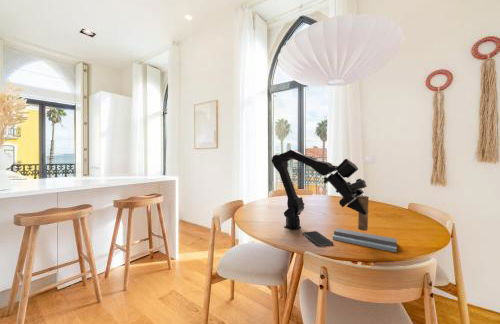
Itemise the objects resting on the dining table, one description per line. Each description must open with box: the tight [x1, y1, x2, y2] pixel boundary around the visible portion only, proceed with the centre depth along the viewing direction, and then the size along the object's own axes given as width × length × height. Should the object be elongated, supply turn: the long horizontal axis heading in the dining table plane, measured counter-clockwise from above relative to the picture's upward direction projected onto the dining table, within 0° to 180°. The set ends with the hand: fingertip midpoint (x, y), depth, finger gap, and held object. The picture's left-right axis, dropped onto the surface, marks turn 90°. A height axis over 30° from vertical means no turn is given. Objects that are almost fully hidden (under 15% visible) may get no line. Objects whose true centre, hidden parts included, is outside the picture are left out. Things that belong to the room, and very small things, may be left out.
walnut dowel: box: [357, 195, 369, 232], centre depth 95 cm, size 4×4×14 cm
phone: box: [302, 230, 334, 247], centre depth 101 cm, size 8×1×15 cm
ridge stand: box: [332, 227, 398, 253], centre depth 98 cm, size 24×10×3 cm, turn 57°
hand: (366, 213), depth 94 cm, fingers closed on walnut dowel, 4 cm apart
